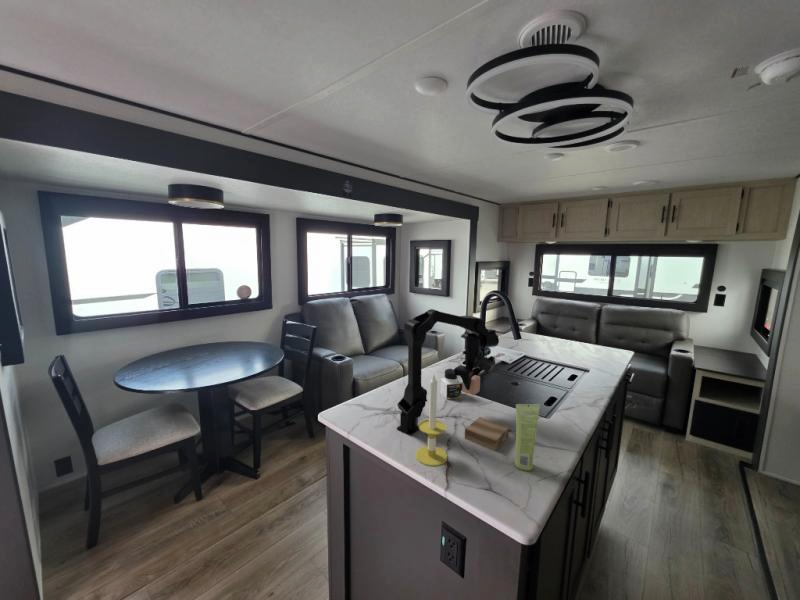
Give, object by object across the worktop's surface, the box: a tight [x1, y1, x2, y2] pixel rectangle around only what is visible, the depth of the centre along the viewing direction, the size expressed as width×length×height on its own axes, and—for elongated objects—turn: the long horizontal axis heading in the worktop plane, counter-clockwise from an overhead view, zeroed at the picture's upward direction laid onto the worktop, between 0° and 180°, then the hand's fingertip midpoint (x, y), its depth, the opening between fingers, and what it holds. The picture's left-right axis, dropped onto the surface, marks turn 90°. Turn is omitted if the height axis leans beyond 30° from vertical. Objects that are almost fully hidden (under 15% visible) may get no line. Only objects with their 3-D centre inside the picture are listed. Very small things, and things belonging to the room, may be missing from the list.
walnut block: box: [464, 417, 510, 452], centre depth 110 cm, size 11×11×4 cm
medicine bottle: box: [440, 368, 463, 400], centre depth 143 cm, size 7×7×12 cm
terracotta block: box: [461, 375, 481, 396], centre depth 124 cm, size 5×5×6 cm
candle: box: [415, 374, 448, 467], centre depth 98 cm, size 10×10×27 cm
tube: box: [514, 403, 541, 472], centre depth 94 cm, size 6×5×20 cm
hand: (471, 387), depth 124 cm, fingers closed on terracotta block, 5 cm apart
